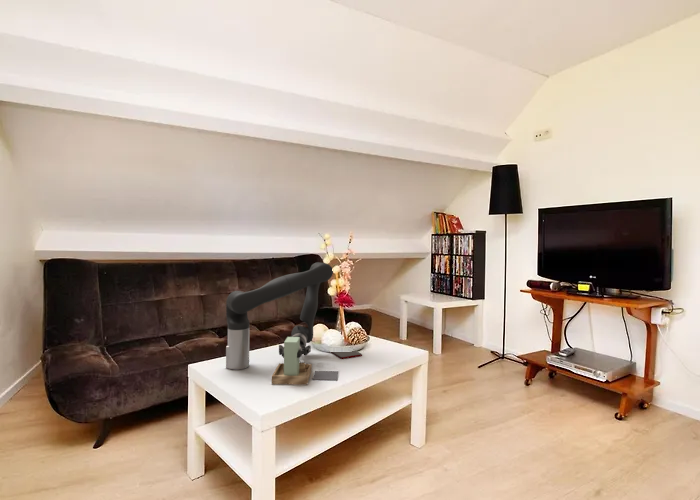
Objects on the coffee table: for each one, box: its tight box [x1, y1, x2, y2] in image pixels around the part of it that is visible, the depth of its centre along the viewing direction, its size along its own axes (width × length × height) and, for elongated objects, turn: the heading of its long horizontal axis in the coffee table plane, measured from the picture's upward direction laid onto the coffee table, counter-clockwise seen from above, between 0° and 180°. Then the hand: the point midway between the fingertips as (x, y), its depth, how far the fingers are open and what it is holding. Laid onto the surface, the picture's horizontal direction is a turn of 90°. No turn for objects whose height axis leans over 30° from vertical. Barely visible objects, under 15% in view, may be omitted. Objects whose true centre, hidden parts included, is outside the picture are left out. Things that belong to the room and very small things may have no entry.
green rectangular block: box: [283, 336, 301, 376], centre depth 155 cm, size 5×8×15 cm, turn 179°
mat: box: [312, 370, 339, 381], centre depth 159 cm, size 10×10×1 cm
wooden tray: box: [271, 362, 313, 386], centre depth 157 cm, size 14×15×3 cm
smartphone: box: [330, 350, 363, 360], centre depth 195 cm, size 12×2×25 cm
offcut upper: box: [299, 362, 306, 369], centre depth 161 cm, size 6×3×2 cm, turn 89°
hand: (290, 355), depth 152 cm, fingers closed on green rectangular block, 5 cm apart
